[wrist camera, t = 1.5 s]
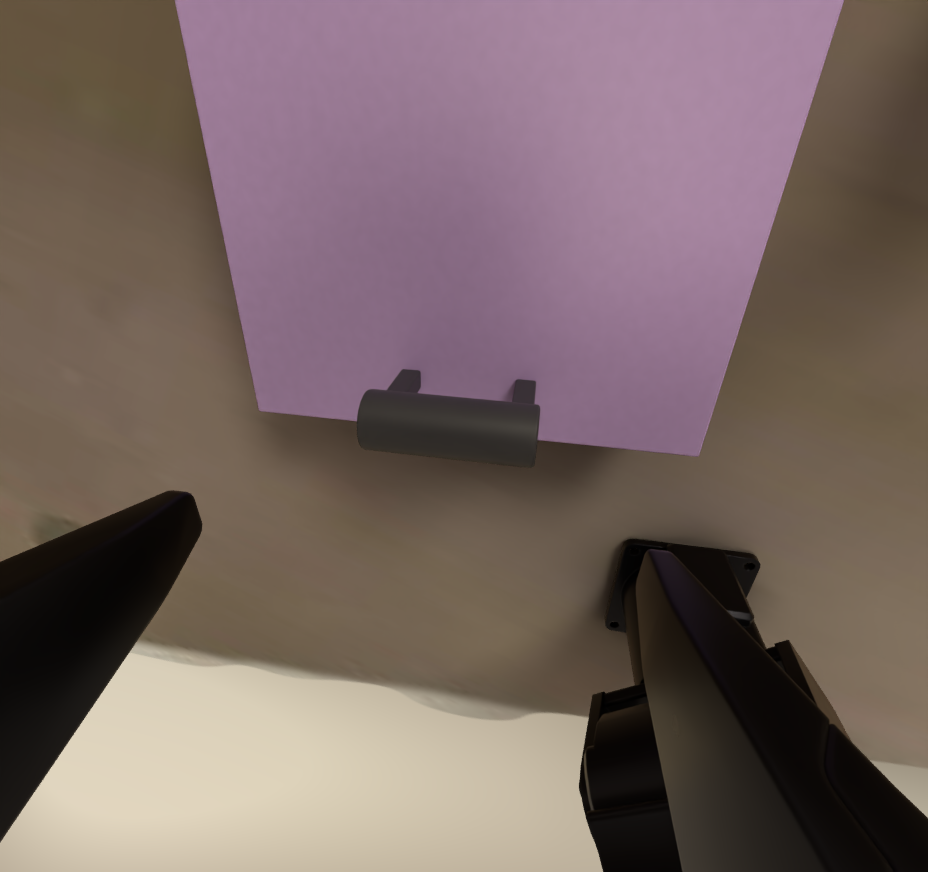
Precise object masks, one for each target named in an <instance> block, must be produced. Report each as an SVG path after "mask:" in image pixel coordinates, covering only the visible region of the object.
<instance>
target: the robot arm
mask: <svg viewBox="0 0 928 872" xmlns="http://www.w3.org/2000/svg"><path fill="white" fill-rule="evenodd" d="M201 531H202V521H201V518H200V515H199V512H198V509H197V505H196V502H195V499H194V497H193V496H192V495H191V494H190V493H188V492H182V491H174V490H173V491H167V492H164V493H162V494H159V495H157V496H155V497H152V498H150V499H148V500H145V501H143V502H141V503H138V504H136V505H133V506H131V507H129V508H126V509H124V510H122V511H119V512H117V513H115V514H112V515H110V516H107V517H105V518H103V519H100V520H98V521H96V522H93V523H91V524H89V525H86V526H84V527H81V528H79V529H77V530H74V531H72V532H70V533H67V534H65V535H63V536H60V537H58V538H55V539H53V540H51V541H48V542H46V543H44V544H41V545H39V546H37V547H34V548H32V549H30V550H27V551H25V552H22V553H20V554H18V555H15V556H13V557H11V558H8V559H6V560H4V561H1V562H0V842H1V841H2V839H3V837H4V836H5V835H6V833H7V832H8V830H9V829H10V827H11V826H12V824H13V823H14V821H15V820H16V818H17V817H18V816H19V814H20V813H21V811H22V809H23V808H24V807H25V805H26V804H27V802H28V801H29V799H30V798H31V796H32V795H33V793H34V792H35V790H36V789H37V787H38V786H39V784H40V783H41V782H42V780H43V779H44V777H45V776H46V774H47V773H48V771H49V770H50V768H51V767H52V765H53V764H54V763H55V761H56V760H57V758H58V757H59V755H60V754H61V752H62V751H63V749H64V747H65V746H66V745H67V743H68V742H69V740H70V739H71V737H72V736H73V735H74V733H75V732H76V730H77V729H78V727H79V726H80V724H81V723H82V721H83V720H84V718H85V717H86V715H87V714H88V712H89V711H90V709H91V708H92V707H93V705H94V703H95V702H96V701H97V699H98V698H99V696H100V695H101V693H102V692H103V690H104V689H105V687H106V686H107V684H108V683H109V681H110V680H111V679H112V677H113V676H114V674H115V673H116V671H117V670H118V668H119V667H120V665H121V664H122V662H123V661H124V659H125V658H126V656H127V655H128V653H129V652H130V651H131V649H132V648H133V646H134V645H135V643H136V642H137V640H138V639H139V637H140V636H141V634H142V633H143V631H144V630H145V628H146V627H147V626H148V624H149V623H150V621H151V620H152V618H153V617H154V615H155V614H156V612H157V611H158V609H159V608H160V606H161V605H162V603H163V601H164V600H165V598H166V596H167V595H168V593H169V591H170V590H171V588H172V586H173V584H174V582H175V580H176V579H177V577H178V575H179V573H180V571H181V569H182V568H183V566H184V564H185V562H186V560H187V558H188V557H189V555H190V553H191V551H192V549H193V547H194V546H195V544H196V542H197V540H198V538H199V536H200V534H201ZM631 548H637V549H636V550H631ZM746 563H750V564H746ZM745 564H746V565H745ZM759 569H760V563H759V561H758V559H757V557H756V556H755V555H754V554H750V553H743V552H735V551H727V550H720V549H712V548H704V547H696V546H688V545H680V544H672V543H664V542H656V541H648V540H641V539H629V540H627V541H626V542H625V543H624V544H623V548H622V552H621V556H620V559H619V563H618V567H617V571H616V575H615V579H614V583H613V587H612V591H611V595H610V599H609V603H608V607H607V611H606V615H605V626H606V627H607V628H608V629H609V630H613V631H619V632H626V633H627V639H628V646H629V652H630V658H631V665H632V671H633V677H634V684H635V685H634V686H631V687H627V688H623V689H620V690H616V691H613V692H609V693H605V692H601V693H597V694H593V696H592V702H591V708H590V714H589V721H588V726H587V732H586V738H585V744H584V750H583V756H582V762H581V770H580V782H579V791H580V794H581V797H582V802H583V807H584V811H585V815H586V819H587V822H588V826H589V829H590V832H591V834H592V837H593V839H594V841H595V844H596V847H597V850H598V853H599V857H600V861H601V865H602V869H603V872H928V818H927V817H926V816H925V815H924V814H923V813H922V812H921V811H920V810H919V809H918V808H917V807H916V806H915V805H914V804H913V803H912V802H910V800H908V799H907V798H906V797H905V796H904V795H903V794H902V793H901V792H900V791H899V790H898V789H897V788H896V787H895V786H894V785H893V784H892V783H891V782H890V781H889V780H888V779H887V778H886V777H885V776H884V775H883V774H882V773H881V772H880V771H879V770H878V769H877V768H876V767H875V766H874V765H873V764H872V763H871V762H870V760H869V759H868V758H867V757H866V756H865V755H864V754H863V753H862V752H861V751H860V750H859V749H858V748H857V747H856V746H855V745H854V744H853V743H852V742H851V740H850V738H849V736H848V734H847V733H846V731H845V729H844V727H843V725H842V723H841V721H840V720H839V718H838V716H837V714H836V712H835V710H834V709H833V707H832V705H831V704H830V702H829V701H828V699H827V697H826V696H825V694H824V693H823V691H822V690H821V688H820V687H819V685H818V684H817V682H816V681H815V679H814V678H813V676H812V675H811V673H810V672H809V670H808V668H807V667H806V665H805V664H804V662H803V661H802V659H801V658H800V656H799V655H798V653H797V652H796V650H795V649H794V647H793V646H792V644H791V643H790V641H789V640H786V641H783V642H779V643H775V646H774V647H771V648H767V649H766V647H765V644H764V642H763V640H762V638H761V635H760V633H759V631H758V629H757V626H756V624H755V622H754V615H753V613H752V610H751V608H750V606H749V604H748V601H747V599H746V597H747V595H748V593H749V591H750V589H751V586H752V584H753V582H754V580H755V578H756V575H757V573H758V571H759Z"/></svg>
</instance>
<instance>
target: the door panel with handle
mask: <svg viewBox="0 0 928 872" xmlns="http://www.w3.org/2000/svg"><path fill="white" fill-rule="evenodd" d="M843 2H844V0H175V3H176V8H177V13H178V18H179V22H180V27H181V32H182V37H183V42H184V47H185V52H186V57H187V62H188V66H189V71H190V76H191V81H192V86H193V91H194V96H195V101H196V106H197V110H198V115H199V120H200V125H201V130H202V135H203V140H204V145H205V150H206V154H207V159H208V164H209V169H210V174H211V179H212V184H213V189H214V194H215V198H216V203H217V208H218V213H219V218H220V223H221V228H222V233H223V237H224V242H225V247H226V252H227V257H228V262H229V267H230V272H231V277H232V281H233V286H234V291H235V296H236V301H237V306H238V311H239V316H240V321H241V325H242V330H243V335H244V340H245V345H246V350H247V355H248V360H249V365H250V369H251V374H252V379H253V384H254V389H255V394H256V399H257V404H258V409H259V411H263V412H273V413H282V414H292V415H301V416H311V417H321V418H330V419H340V420H350V421H357V437H358V441H359V444H360V446H361V447H362V448H363V449H365V450H373V451H382V452H391V453H400V454H409V455H418V456H427V457H436V458H445V459H454V460H463V461H472V462H481V463H490V464H499V465H508V466H517V467H526V468H532V467H534V464H535V458H536V449H537V441H538V440H542V441H552V442H561V443H571V444H581V445H590V446H600V447H610V448H619V449H629V450H638V451H648V452H658V453H667V454H677V455H687V456H696V457H697V456H699V454H700V451H701V448H702V444H703V441H704V438H705V435H706V432H707V429H708V426H709V422H710V419H711V416H712V413H713V410H714V407H715V404H716V401H717V397H718V394H719V391H720V388H721V385H722V382H723V379H724V375H725V372H726V369H727V366H728V363H729V360H730V357H731V353H732V350H733V347H734V344H735V341H736V338H737V335H738V331H739V328H740V325H741V322H742V319H743V316H744V313H745V310H746V306H747V303H748V300H749V297H750V294H751V291H752V288H753V284H754V281H755V278H756V275H757V272H758V269H759V266H760V262H761V259H762V256H763V253H764V250H765V247H766V244H767V240H768V237H769V234H770V231H771V228H772V225H773V222H774V219H775V215H776V212H777V209H778V206H779V203H780V200H781V197H782V193H783V190H784V187H785V184H786V181H787V178H788V175H789V171H790V168H791V165H792V162H793V159H794V156H795V153H796V149H797V146H798V143H799V140H800V137H801V134H802V131H803V127H804V124H805V121H806V118H807V115H808V112H809V109H810V106H811V102H812V99H813V96H814V93H815V90H816V87H817V84H818V80H819V77H820V74H821V71H822V68H823V65H824V62H825V58H826V55H827V52H828V49H829V46H830V43H831V40H832V36H833V33H834V30H835V27H836V24H837V21H838V18H839V15H840V11H841V8H842V5H843Z"/></svg>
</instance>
